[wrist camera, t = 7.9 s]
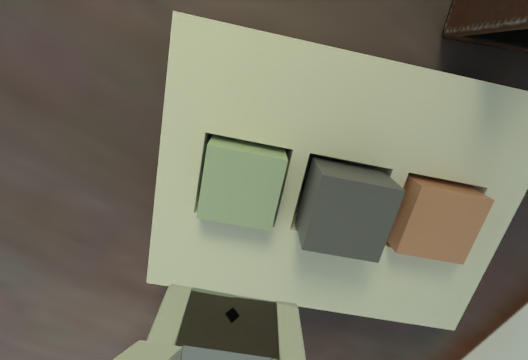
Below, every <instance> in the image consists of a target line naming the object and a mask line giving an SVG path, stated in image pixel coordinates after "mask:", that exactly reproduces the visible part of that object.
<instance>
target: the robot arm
mask: <svg viewBox="0 0 528 360" xmlns="http://www.w3.org/2000/svg"><path fill="white" fill-rule="evenodd" d="M113 360H306V356H305V350H304V343H303V336H302V330H301V323H300V316H299V310H298V306H297V305H296V303H289V302H281V301H271V300H265V299H258V298H251V297H245V296H238V295H232V294H227V293H221V292H216V291H210V290H205V289H199V288H194V287H193V288H191V287H186V286H181V285H175V284H171V285H170V286H169V287H168V289H167V291H166V294H165V296H164V299H163V301H162V304H161V306H160V308H159V311H158V313H157V316H156V318H155V321H154V323H153V326H152V328H151V331H150V333H149V336H148V338H147V341H140V340H139V341H137V342H136V343H135V344H133V345H132V346H131V347H129V348H128V349H126V350H125V351H124V352H122V353H121V354H120V355H118V356H117V357H115V358H114V359H113Z"/></svg>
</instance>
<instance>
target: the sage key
mask: <svg viewBox="0 0 528 360" xmlns="http://www.w3.org/2000/svg"><path fill="white" fill-rule="evenodd" d="M287 163H288V158H287V155H286V151H285V148H282V147H277V146H272V145H266V144H261V143H256V142H251V141H246V140H241V139H236V138H231V137H226V136H221V135H216V134H213V136H212V138H211V139H210V141H209V142H208V144H207V149H206V155H205V162H204V169H203V175H202V182H201V189H200V196H199V202H198V209H197V216H196V218H198V219H204V220H209V221H215V222H221V223H227V224H232V225H238V226H244V227H250V228H255V229H261V230H267V231H271V230H272V226H273V222H274V218H275V213H276V209H277V205H278V201H279V197H280V192H281V188H282V184H283V180H284V176H285V172H286V167H287Z"/></svg>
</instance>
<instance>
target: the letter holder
mask: <svg viewBox="0 0 528 360" xmlns="http://www.w3.org/2000/svg"><path fill="white" fill-rule="evenodd" d="M443 37H444V38H449V39H456V40H459V41H464V42H469V43H477V44H483V45H488V46H493V47H499V48H504V49H510V50H515V51H520V52H525V53H528V0H453V3H452V5H451V8H450V11H449V14H448V18H447V21H446V23H445V26H444V31H443Z"/></svg>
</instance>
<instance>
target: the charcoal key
mask: <svg viewBox="0 0 528 360" xmlns="http://www.w3.org/2000/svg"><path fill="white" fill-rule="evenodd" d="M405 192H406V191H405V190H404V189H403V188H402V187H401V186H400V185H398V184H397V183H396V182H395V181H394V180H393V179H392V178H390V177H389V176H388V175H387V174H386V173H385V172H384V171H382V170H377V169H372V168H367V167H361V166H356V165H351V164H346V163H341V162H336V161H331V160H326V159H321V158H315V157H312V161H311V165H310V168H309V172H308V176H307V180H306V183H305V187H304V191H303V195H302V199H301V202H300V206H299V210H298V214H297V217H296V221H295V222H296V227H297V231H298V235H299V240H300V244H301V248H302V250H306V251H311V252H317V253H323V254H329V255H335V256H341V257H347V258H353V259H358V260H364V261H370V262H376V263H379V260H380V258H381V255H382V252H383V250H384V247H385V244H386V242H387V239H388V237H389V234H390V231H391V229H392V226H393V223H394V221H395V218H396V216H397V213H398V210H399V208H400V205H401V202H402V200H403V197H404V195H405Z"/></svg>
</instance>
